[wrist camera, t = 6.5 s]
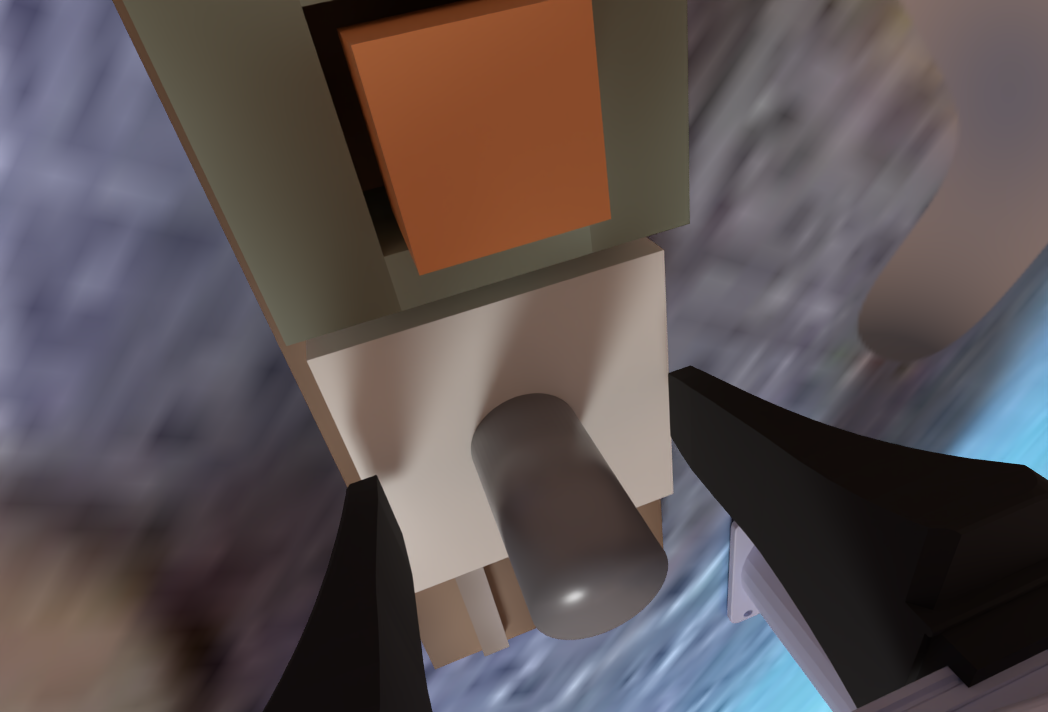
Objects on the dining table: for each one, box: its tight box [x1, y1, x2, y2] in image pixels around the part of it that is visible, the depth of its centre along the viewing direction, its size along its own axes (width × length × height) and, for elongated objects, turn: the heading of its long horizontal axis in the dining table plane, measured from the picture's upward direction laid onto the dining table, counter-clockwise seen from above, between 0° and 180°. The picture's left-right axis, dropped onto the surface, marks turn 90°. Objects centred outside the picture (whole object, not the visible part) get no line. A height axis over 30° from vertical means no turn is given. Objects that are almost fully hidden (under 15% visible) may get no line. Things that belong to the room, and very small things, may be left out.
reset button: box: [336, 0, 611, 275], centre depth 9 cm, size 3×3×3 cm
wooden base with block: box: [112, 0, 690, 669], centre depth 17 cm, size 10×24×6 cm, turn 10°
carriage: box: [306, 237, 673, 640], centre depth 14 cm, size 8×8×7 cm
